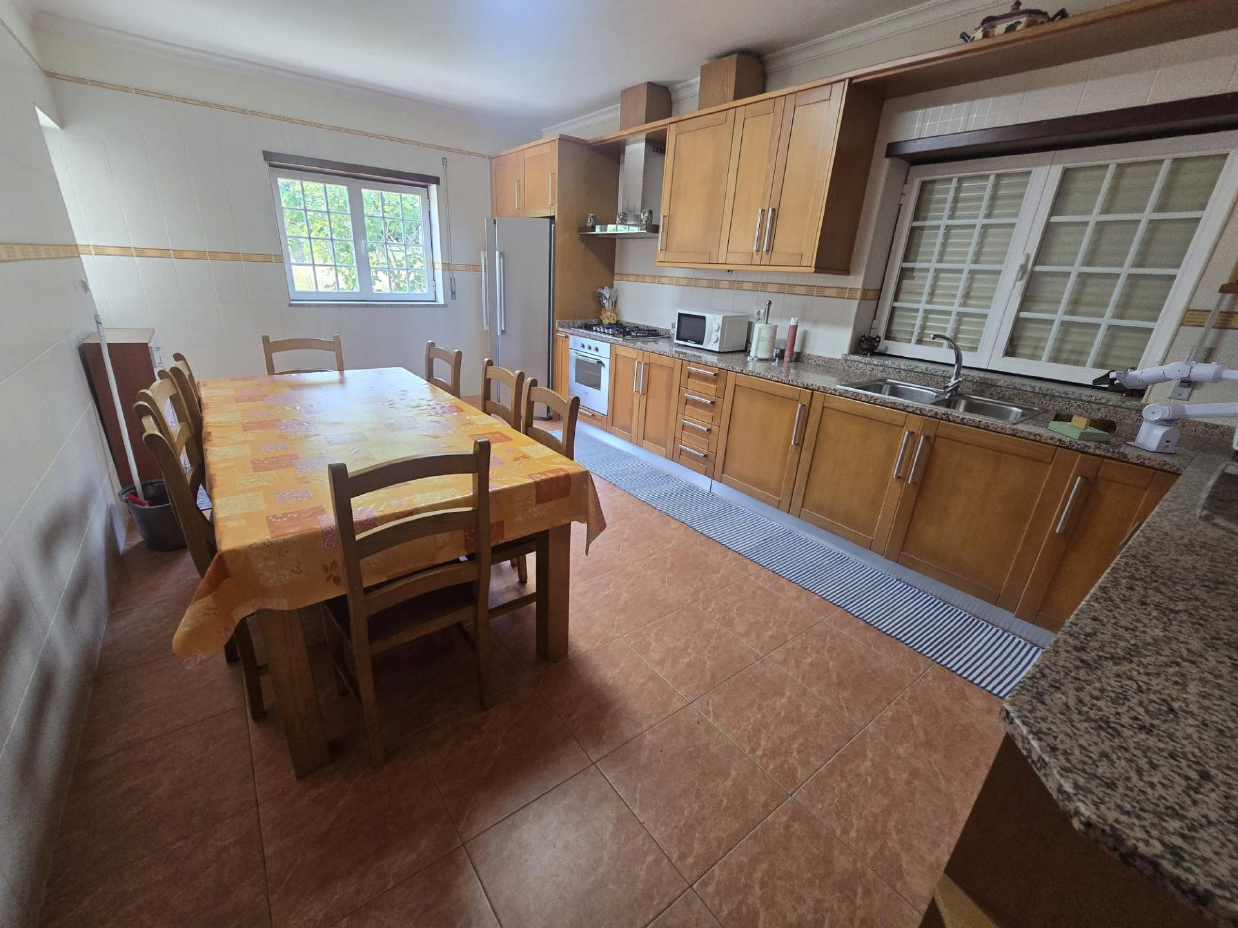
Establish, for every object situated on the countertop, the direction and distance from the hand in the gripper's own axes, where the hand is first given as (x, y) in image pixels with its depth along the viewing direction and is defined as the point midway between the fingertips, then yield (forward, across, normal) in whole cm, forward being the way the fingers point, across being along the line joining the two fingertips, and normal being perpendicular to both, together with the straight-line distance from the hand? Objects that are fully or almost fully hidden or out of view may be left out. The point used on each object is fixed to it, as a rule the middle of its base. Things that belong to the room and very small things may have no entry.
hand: (1100, 385), depth 187 cm
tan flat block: (+1, +6, +18) cm, 19 cm away
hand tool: (+12, -11, +11) cm, 20 cm away
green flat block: (+2, +6, +20) cm, 21 cm away
